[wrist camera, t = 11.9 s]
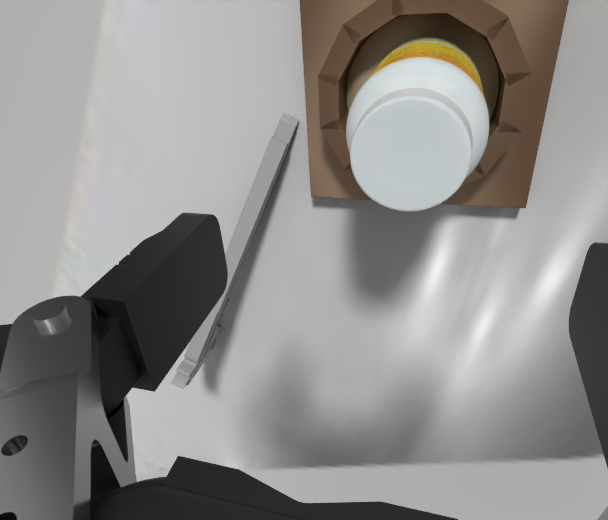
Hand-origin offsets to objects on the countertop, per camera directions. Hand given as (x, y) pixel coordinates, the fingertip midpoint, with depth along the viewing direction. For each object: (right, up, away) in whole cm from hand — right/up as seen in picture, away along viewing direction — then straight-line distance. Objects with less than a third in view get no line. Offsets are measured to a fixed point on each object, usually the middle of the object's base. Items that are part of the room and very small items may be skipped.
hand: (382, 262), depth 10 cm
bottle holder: (+4, +9, +14) cm, 17 cm away
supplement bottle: (+4, +9, +13) cm, 16 cm away
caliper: (-6, +1, +23) cm, 24 cm away
